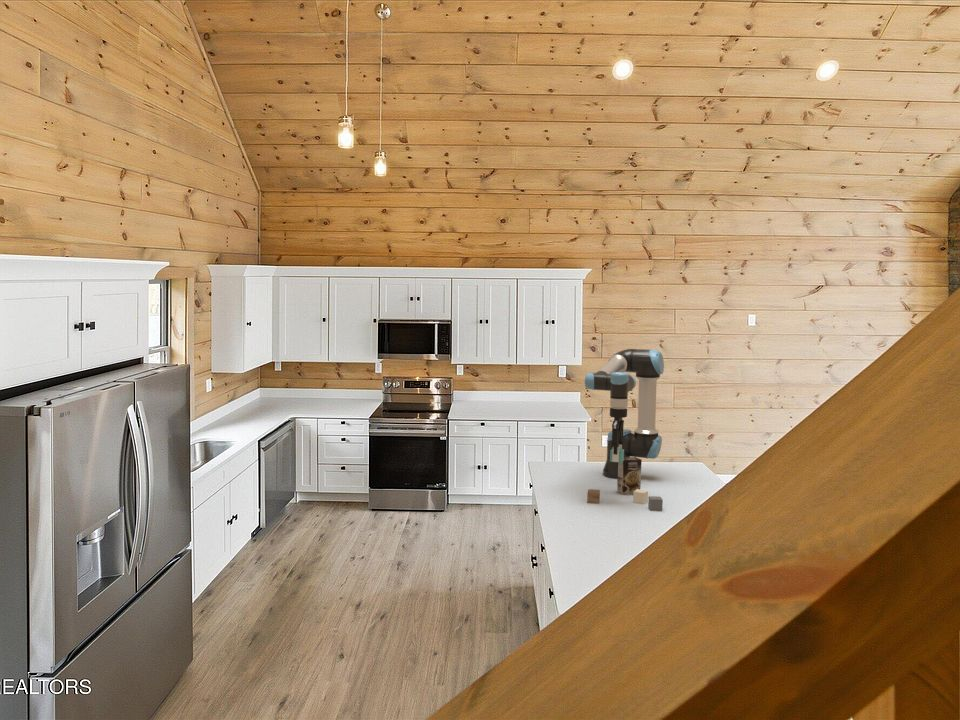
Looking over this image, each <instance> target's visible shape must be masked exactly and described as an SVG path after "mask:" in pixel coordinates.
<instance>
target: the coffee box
mask: <svg viewBox="0 0 960 720" xmlns="http://www.w3.org/2000/svg"><path fill="white" fill-rule="evenodd" d="M642 462H643V461H642V458H640V457H632V456H630V457H626V458H624V461H623V462H622V463H618V478H617V482H616V483H617V484H616V487H617V488H616V492H618V493H619V494H621V495H633V491H635V490H637V489H640V490H641V482H642Z"/></svg>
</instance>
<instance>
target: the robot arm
mask: <svg viewBox="0 0 960 720" xmlns="http://www.w3.org/2000/svg"><path fill="white" fill-rule="evenodd" d="M607 361H608V362H606V364H604V365H602V367H601V368H600V369H598V370H597V371H596V372H588V373H586V375H585V377H584V386H585V388H586V389H587V390H592V391H594V390H595V391H605V392H606V391H607V392H610V399H609V400H608V402H610V403H609V406H610V408H609V417H610V418H611V417H612V418H614V419H613V420H612V424H611V430H609V432H608V433H607V438H606V439H607V440H606V442H607V443H606V461H605V464H604V466H603V469H602V476H604V477H607V478H611V479H618V462H619V449H624V458H626V457H636V458H640V459H642V458H644V459H651V460H652V459H654V460H655V459H657V458H658V457H659V454H660V452H661V448H662V442H663V438H662V436H661V435H660V434H659V431H658V429H657V428H656V418H657V415H656V413H657V412H656V411H657V410H656V409H657V408H656V407H657V381H658V380H659V379H660V378H661V375H663V373H664V371H665V369H664V368H665V362H664V356H663V354H662V351H660V350H656V349H642V348H641V349H639V348H626V349H623V350H620V351H618V352H616V353H614V354H613V355H611V356H610V357H609V359H608V360H607ZM628 373H633V374H634V373H635V377H634V376H633V375H632V374H628ZM636 379H637V380H638V394H637V395H638V400H637V402H638V404H637V427H636V429H634V431H633V432H634V433H632V430H631V429H627V428H624V424H625V420H624V419H623V418H626V417H628V409H627V408H628V400H629V399H628V397H629V392H631V391H632V390H634V388H635V387H636V385H637V382H636ZM611 449H613V454H612V461H613V462H610V450H611Z"/></svg>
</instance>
